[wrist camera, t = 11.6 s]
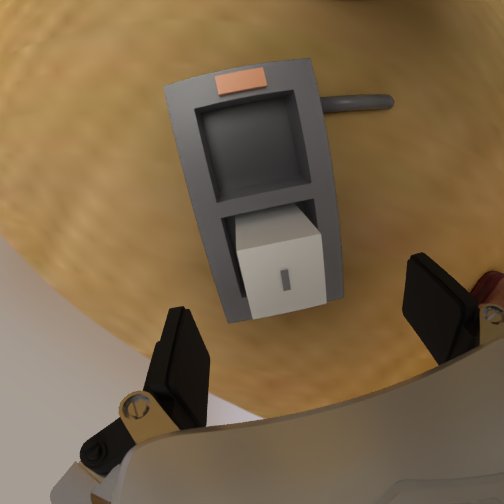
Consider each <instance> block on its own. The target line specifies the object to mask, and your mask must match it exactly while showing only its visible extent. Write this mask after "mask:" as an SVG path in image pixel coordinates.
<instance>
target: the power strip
mask: <svg viewBox="0 0 504 504" xmlns="http://www.w3.org/2000/svg"><path fill="white" fill-rule="evenodd" d="M163 88H164V92H165V97H166V101H167V106H168V110H169V115H170V119H171V123H172V128H173V132H174V136H175V140H176V144H177V149H178V153H179V157H180V161H181V164H182V168H183V172H184V176H185V180H186V184H187V188H188V191H189V195H190V199H191V202H192V206H193V210H194V213H195V217H196V220H197V224H198V227H199V231H200V234H201V238H202V241H203V245H204V248H205V251H206V255H207V258H208V261H209V265H210V268H211V271H212V275H213V278H214V281H215V284H216V287H217V291H218V294H219V297H220V300H221V303H222V306H223V309H224V312H225V315H226V318H227V322H228V324H229V323H234V322H239V321H244V320H249V319H253V318H252V314H251V310H250V306H249V302H248V298H247V294H246V290H245V285H244V281H243V277H242V273H241V269H240V265H239V260H238V256H237V252H236V224H235V215H237V214H241V213H246V212H250V211H255V210H260V209H264V208H269V207H274V206H279V205H284V204H288V203H293V202H294V203H295V204H296V206H297V207H298V208H299V209H300V210H301V211H302V212H303V213H304V215H305V216H306V217H307V218H308V219H309V220H310V221H311V223H312V224H313V225H314V226H315V227H316V228H317V230H318V231H319V232H320V233H321V238H322V248H323V259H324V271H325V284H326V300H327V302H328V301H332V300H336V299H340V298H344V284H343V266H342V251H341V238H340V227H339V217H338V208H337V199H336V191H335V183H334V176H333V169H332V162H331V156H330V149H329V143H328V138H327V132H326V126H325V121H324V116H323V113H329V112H340V111H353V110H370V109H390V108H392V107H393V106H394V100H393V98H392V97H391V96H390V95H386V94H375V95H346V96H331V97H319V92H318V88H317V83H316V79H315V75H314V71H313V67H312V63H311V59H310V58H305V59H293V60H283V61H275V62H267V63H260V64H254V65H248V66H242V67H237V68H232V69H227V70H222V71H217V72H213V73H209V74H205V75H201V76H197V77H193V78H189V79H186V80H182V81H179V82H175V83H172V84H169V85H166V86H163Z"/></svg>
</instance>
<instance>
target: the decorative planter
mask: <svg viewBox="0 0 504 504" xmlns="http://www.w3.org/2000/svg"><path fill="white" fill-rule="evenodd" d="M471 295H472V296H473V297H474V298H475V299H476V300H477V301H478V302H479V304H478V307H479V308H480V309H481V307H482V306H483V305H485V304H489V303H493V304H497V305H499V306H501V307H503V308H504V274H503V273H500V272H497V271H491V272H488V273H487V274H485V275H484V276H483V277H482V278H481V280H480V281H479V282H478V284H477V285H476V287H475V288H474V290H473V291H472V293H471Z"/></svg>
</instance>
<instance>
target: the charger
mask: <svg viewBox="0 0 504 504" xmlns="http://www.w3.org/2000/svg"><path fill="white" fill-rule="evenodd" d="M235 224H236V252H237V256H238V260H239V265H240V269H241V273H242V277H243V281H244V285H245V290H246V294H247V298H248V302H249V306H250V310H251V314H252V318H253V320H254V319H259V318H264V317H269V316H274V315H279V314H283V313H288V312H293V311H297V310H302V309H306V308H310V307H315V306H319V305H323V304H327V300H326V284H325V271H324V259H323V248H322V238H321V233H320V232H319V231H318V230H317V228H316V227H315V226H314V225H313V224H312V223H311V221H310V220H309V219H308V218H307V217H306V216H305V215H304V213H303V212H302V211H301V210H300V209H299V208H298V207H297V206H296V204H295V203H294V202H293V203H288V204H284V205H279V206H274V207H269V208H264V209H260V210H255V211H250V212H246V213H241V214H237V215H235Z"/></svg>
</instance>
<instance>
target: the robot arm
mask: <svg viewBox="0 0 504 504" xmlns="http://www.w3.org/2000/svg"><path fill="white" fill-rule="evenodd" d="M478 304H479V302H478V301H477V300H476V299H475V298H474V297H473V296H472V295H471V294H470V293H469V292H468V291H467V290H466V289H465V288H464V287H462V286H461V285H460V284H459V283H458V282H457V281H456V280H455V279H454V278H453V277H452V276H450V275H449V274H448V273H447V272H446V271H445V270H444V269H442V268H441V267H440V266H439V265H438V264H437V263H435V262H434V261H433V260H432V259H431V258H430V257H428V256H427V255H426V254H425V253H423V252H421V253H418V254H414V255H411V257H410V259H409V260H408V261H407V271H406V282H405V291H404V299H403V306H402V312H403V315H404V317H405V318H406V319H407V321H408V322H409V323H410V325H411V326H412V327H413V329H414V330H415V332H416V333H417V334H418V336H419V337H420V339H421V340H422V341H423V343H424V344H425V346H426V347H427V349H428V350H429V352H430V353H431V354H432V356H433V357H434V359H435V360H436V362H437V363H438V365H439V366H437V367H435V368H433V369H431V370H428V371H426V372H424V373H422V374H419V375H417V376H414V377H412V378H410V379H407V380H405V381H402V382H399V383H397V384H394V385H392V386H389V387H386V388H383V389H381V390H378V391H375V392H372V393H369V394H366V395H363V396H360V397H356V398H353V399H350V400H346V401H343V402H340V403H336V404H332V405H328V406H325V407H321V408H317V409H313V410H308V411H304V412H299V413H295V414H290V415H285V416H280V417H274V418H268V419H262V420H256V421H249V422H243V423H236V424H227V425H219V426H209V427H206V423H207V404H208V387H209V372H210V356H209V353H208V351H207V349H206V346H205V344H204V342H203V340H202V337H201V335H200V333H199V330H198V328H197V326H196V323H195V321H194V319H193V316H192V314H191V311H190V310H189V309H185V307H184V306H181V307H175V308H170V309H169V312H168V315H167V319H166V322H165V325H164V329H163V332H162V336H161V339H160V341H158V342H157V343H156V345H155V348H154V352H153V355H152V359H151V362H150V366H149V370H148V373H147V377H146V381H145V385H144V388H143V391H136V392H132V393H130V394H128V395H127V396H126V397H125V398H124V399H123V400H122V401H121V403H120V406H119V415H120V417H119V418H118V419H117V420H115V421H114V422H113V423H111V424H110V425H108V426H107V427H106V428H104V429H103V430H101V431H100V432H98V433H97V434H96V435H94V436H93V437H91V438H90V439H89V440H87V441H86V442H85V443H84V444H83V446H82V447H81V450H80V459H81V461H80V462H79V463H77V462H74V464H73V465H72V466H71V467H70V468H69V470H68V471H67V472H66V473H65V474H64V476H63V477H62V478H61V479H60V480H59V482H58V483H57V484H56V485H55V486H54V487H53V489H52V491H51V494H50V498H51V503H52V504H504V308H503V307H501V306H499V305H497V304H493V303H489V304H485V305H483V306H482V307H481V309H480V308H479V307H478Z"/></svg>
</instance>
